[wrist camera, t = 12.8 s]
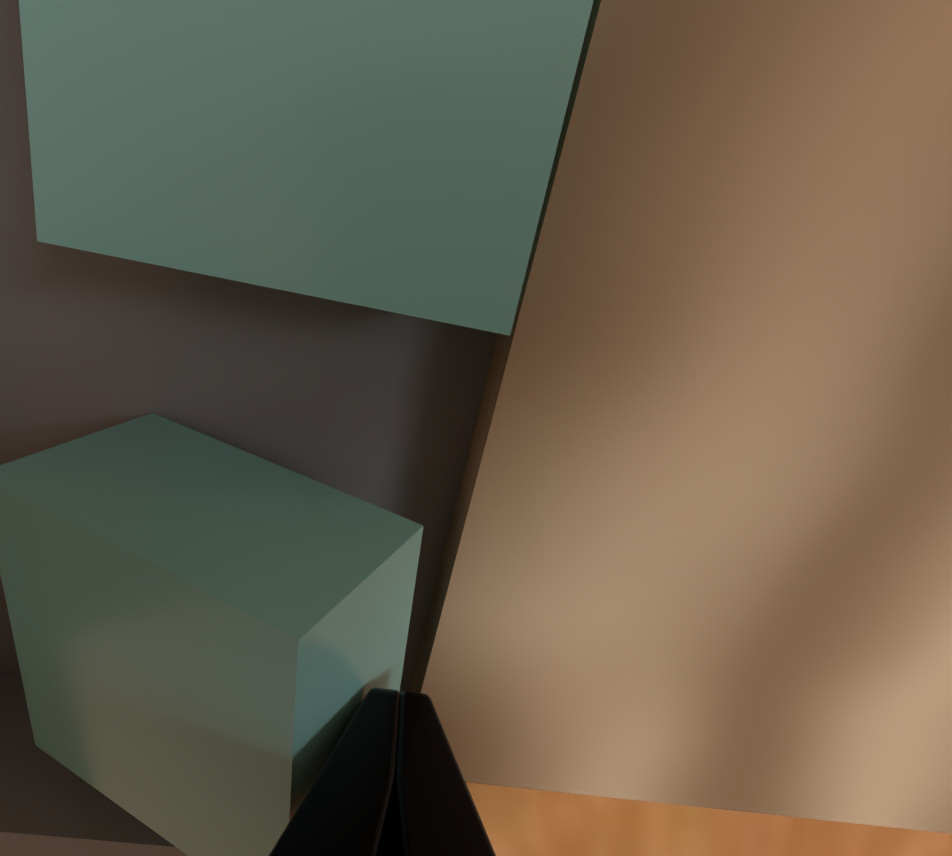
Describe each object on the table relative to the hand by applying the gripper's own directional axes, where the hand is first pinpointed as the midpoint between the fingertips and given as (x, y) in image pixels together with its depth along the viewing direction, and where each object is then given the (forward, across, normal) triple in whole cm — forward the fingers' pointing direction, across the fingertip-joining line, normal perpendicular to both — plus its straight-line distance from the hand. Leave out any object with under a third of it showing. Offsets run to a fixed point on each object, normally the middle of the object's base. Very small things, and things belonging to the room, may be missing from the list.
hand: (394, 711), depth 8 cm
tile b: (+2, +2, 0) cm, 3 cm away
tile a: (+3, +2, -8) cm, 9 cm away
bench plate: (+4, -8, -4) cm, 9 cm away
